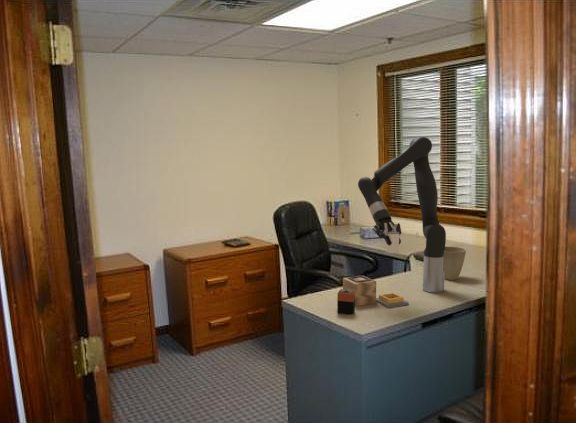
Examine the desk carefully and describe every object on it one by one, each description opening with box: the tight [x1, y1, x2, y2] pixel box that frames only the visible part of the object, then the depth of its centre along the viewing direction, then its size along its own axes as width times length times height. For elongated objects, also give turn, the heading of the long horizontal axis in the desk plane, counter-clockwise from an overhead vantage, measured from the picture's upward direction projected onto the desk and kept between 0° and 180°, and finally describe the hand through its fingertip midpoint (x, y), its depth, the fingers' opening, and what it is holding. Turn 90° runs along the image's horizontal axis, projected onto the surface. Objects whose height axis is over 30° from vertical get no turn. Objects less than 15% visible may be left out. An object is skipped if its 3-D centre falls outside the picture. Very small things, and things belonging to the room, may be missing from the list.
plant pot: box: [443, 246, 467, 281], centre depth 260 cm, size 15×15×16 cm
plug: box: [384, 230, 400, 254], centre depth 217 cm, size 4×4×9 cm
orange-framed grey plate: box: [376, 292, 410, 309], centre depth 220 cm, size 11×11×3 cm
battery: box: [336, 288, 356, 316], centre depth 207 cm, size 4×7×10 cm, turn 71°
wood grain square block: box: [342, 275, 377, 307], centre depth 223 cm, size 11×11×11 cm
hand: (394, 243), depth 215 cm, fingers closed on plug, 4 cm apart
